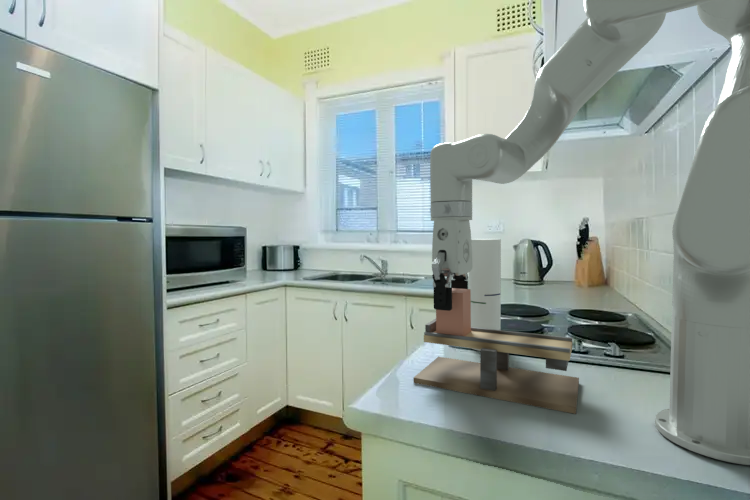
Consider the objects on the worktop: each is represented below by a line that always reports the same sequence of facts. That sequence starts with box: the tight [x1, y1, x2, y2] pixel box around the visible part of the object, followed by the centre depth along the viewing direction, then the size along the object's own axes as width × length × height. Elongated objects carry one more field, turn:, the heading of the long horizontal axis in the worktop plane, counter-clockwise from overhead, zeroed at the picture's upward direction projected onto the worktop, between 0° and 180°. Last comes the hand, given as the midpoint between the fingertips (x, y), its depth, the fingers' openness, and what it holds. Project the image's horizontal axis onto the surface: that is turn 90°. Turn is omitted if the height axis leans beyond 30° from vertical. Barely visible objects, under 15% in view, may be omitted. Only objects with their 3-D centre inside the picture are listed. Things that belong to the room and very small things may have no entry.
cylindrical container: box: [468, 238, 502, 352], centre depth 92 cm, size 7×7×25 cm
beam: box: [423, 318, 573, 372], centre depth 70 cm, size 24×8×5 cm, turn 61°
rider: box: [435, 288, 471, 336], centre depth 74 cm, size 5×5×8 cm
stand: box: [413, 348, 580, 415], centre depth 70 cm, size 26×13×8 cm, turn 61°
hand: (451, 304), depth 74 cm, fingers open, 9 cm apart
